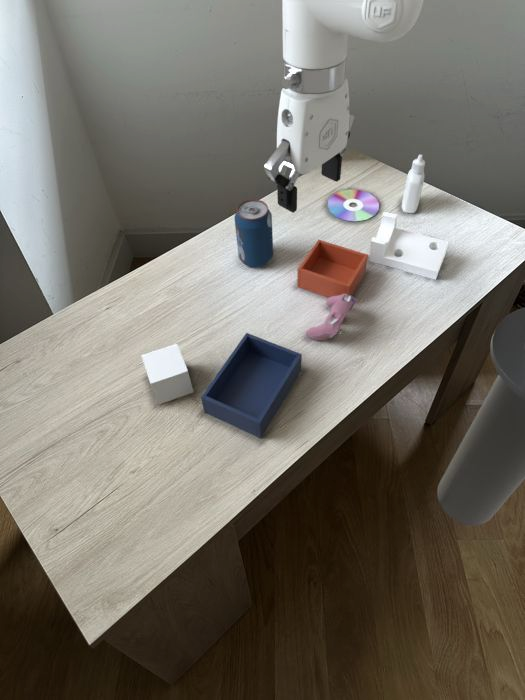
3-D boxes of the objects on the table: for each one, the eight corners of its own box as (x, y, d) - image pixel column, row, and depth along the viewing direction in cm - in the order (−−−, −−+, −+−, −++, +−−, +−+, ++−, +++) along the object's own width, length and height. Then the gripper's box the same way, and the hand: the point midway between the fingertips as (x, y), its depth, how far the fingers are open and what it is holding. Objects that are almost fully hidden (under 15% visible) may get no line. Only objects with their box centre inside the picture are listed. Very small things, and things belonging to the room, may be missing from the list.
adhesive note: (183, 365, 88) (177, 343, 84) (193, 392, 85) (188, 370, 80) (148, 376, 87) (140, 355, 82) (158, 404, 84) (150, 383, 79)
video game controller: (323, 351, 91) (342, 335, 85) (302, 335, 90) (320, 318, 84) (346, 314, 96) (365, 296, 90) (326, 299, 96) (345, 280, 90)
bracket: (369, 263, 103) (371, 241, 96) (381, 235, 105) (383, 211, 98) (435, 282, 99) (441, 259, 92) (446, 252, 101) (453, 228, 94)
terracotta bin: (365, 272, 100) (368, 254, 96) (347, 304, 95) (349, 286, 92) (317, 257, 103) (318, 239, 100) (297, 287, 98) (297, 269, 95)
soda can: (279, 252, 105) (278, 202, 95) (263, 274, 101) (260, 225, 92) (249, 243, 107) (244, 193, 97) (232, 264, 103) (226, 214, 94)
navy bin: (301, 370, 86) (301, 354, 83) (261, 438, 79) (259, 423, 75) (248, 349, 90) (246, 332, 86) (204, 412, 82) (200, 397, 79)
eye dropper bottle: (425, 203, 112) (437, 153, 103) (410, 216, 110) (422, 165, 100) (408, 196, 114) (418, 145, 105) (393, 208, 112) (403, 157, 102)
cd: (385, 196, 114) (385, 195, 114) (370, 226, 108) (370, 226, 108) (337, 185, 117) (337, 185, 117) (319, 214, 111) (320, 214, 111)
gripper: (289, 109, 57) (288, 232, 71) (382, 55, 65) (365, 176, 78) (241, 89, 61) (250, 209, 74) (335, 39, 68) (327, 157, 82)
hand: (309, 192), depth 76 cm, fingers open, 9 cm apart
